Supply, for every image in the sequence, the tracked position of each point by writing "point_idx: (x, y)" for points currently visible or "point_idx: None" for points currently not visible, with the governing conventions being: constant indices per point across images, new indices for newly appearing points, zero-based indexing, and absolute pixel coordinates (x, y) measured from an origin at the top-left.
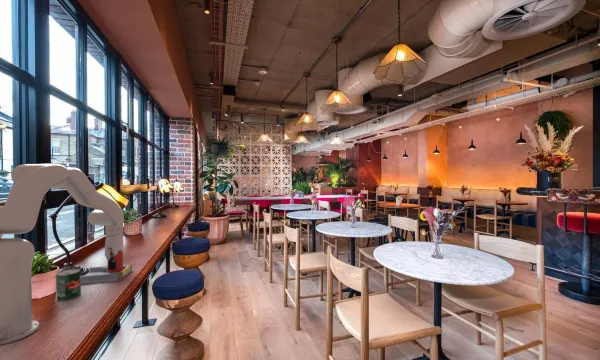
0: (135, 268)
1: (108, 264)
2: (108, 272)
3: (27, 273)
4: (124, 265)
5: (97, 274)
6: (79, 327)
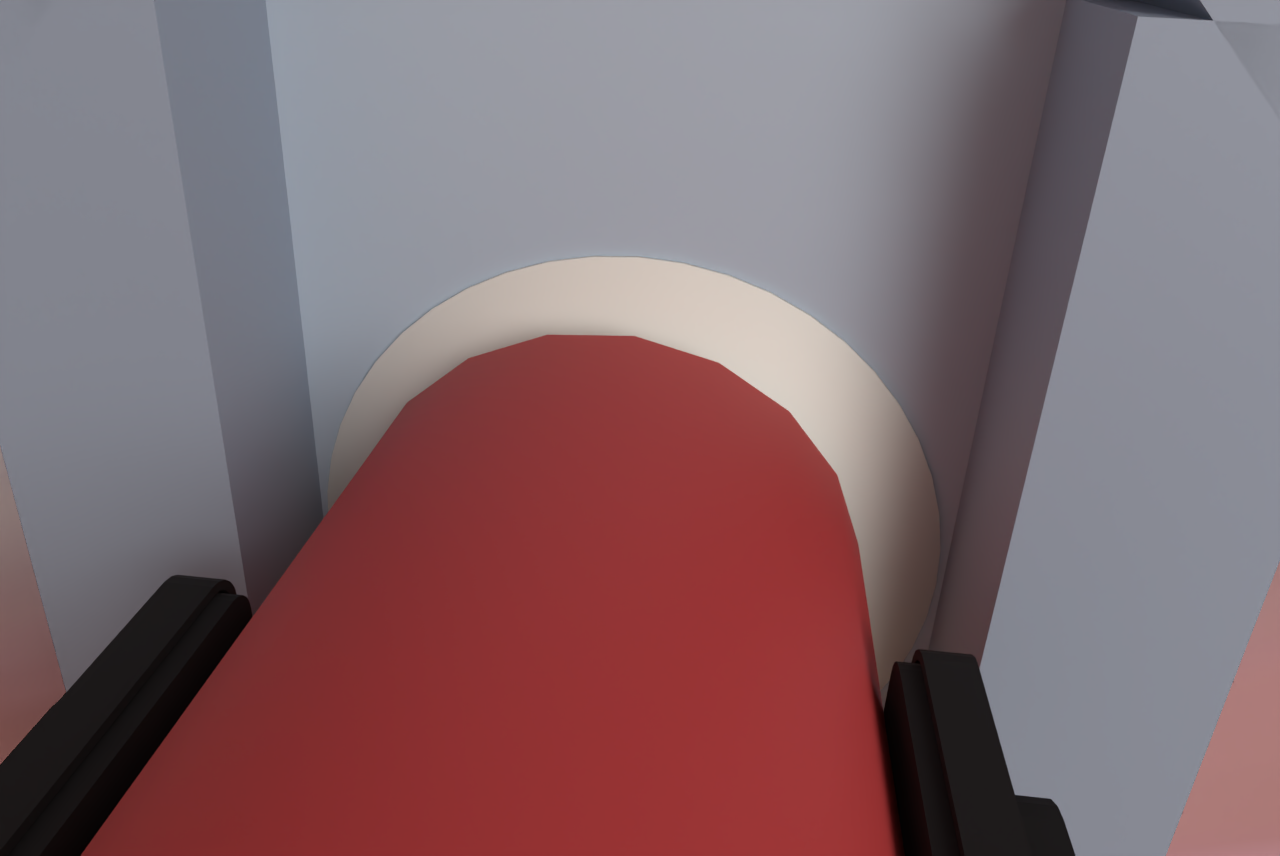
0: (1267, 831)
1: (14, 774)
2: (380, 443)
3: None
4: (1082, 806)
5: (44, 117)
6: None
